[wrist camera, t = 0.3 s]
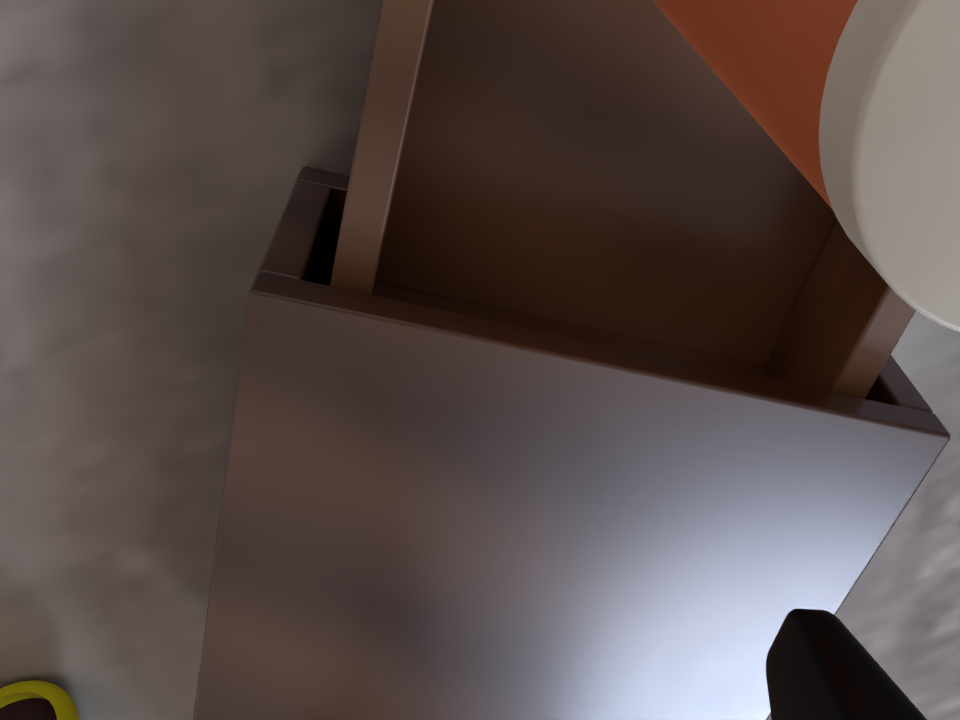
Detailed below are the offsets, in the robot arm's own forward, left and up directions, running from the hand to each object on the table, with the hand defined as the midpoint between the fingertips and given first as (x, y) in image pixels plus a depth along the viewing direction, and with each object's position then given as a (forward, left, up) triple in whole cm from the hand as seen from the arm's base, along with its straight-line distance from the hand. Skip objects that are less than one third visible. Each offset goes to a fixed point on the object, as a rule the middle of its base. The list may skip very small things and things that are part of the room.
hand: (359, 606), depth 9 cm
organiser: (-9, -3, -14) cm, 17 cm away
